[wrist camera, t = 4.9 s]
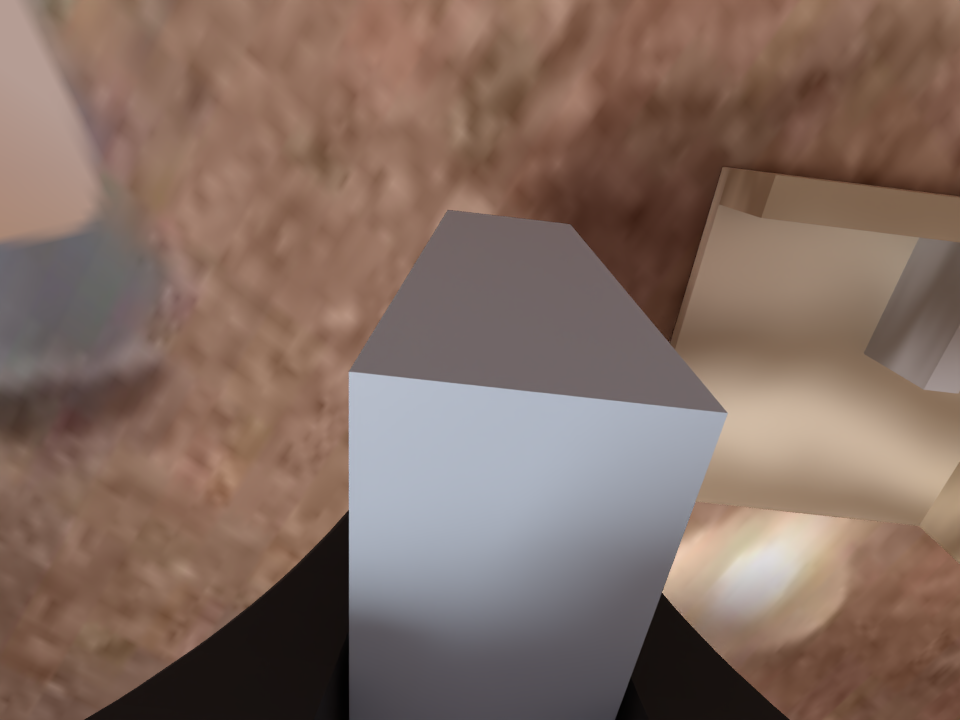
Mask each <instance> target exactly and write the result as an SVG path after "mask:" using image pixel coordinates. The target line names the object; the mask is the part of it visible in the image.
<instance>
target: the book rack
mask: <svg viewBox="0 0 960 720" xmlns="http://www.w3.org/2000/svg"><path fill="white" fill-rule="evenodd" d="M670 344H671V346H672V347H673V348H674V349H675V350H676V352H677V353H678V354H679V355H680V356H681V358H682V359H683V360H684V361H685V362H686V364H687V365H688V366H689V367H690V368H691V370H692V371H693V372H694V373H695V374H696V376H697V377H698V378H699V379H700V380H701V381H702V383H703V384H704V385H705V386H706V387H707V389H708V390H709V391H710V392H711V393H712V395H713V396H714V397H715V398H716V399H717V401H718V402H719V403H720V404H721V405H722V407H723V408H724V409H725V410H726V411H727V413H728V414H727V417H726V420H725V423H724V425H723V428H722V431H721V433H720V436H719V439H718V442H717V444H716V447H715V450H714V452H713V455H712V458H711V461H710V463H709V466H708V469H707V471H706V474H705V477H704V480H703V482H702V485H701V488H700V490H699V493H698V496H697V499H696V501H695V502H704V503H713V504H722V505H731V506H740V507H749V508H759V509H768V510H777V511H786V512H795V513H804V514H813V515H823V516H832V517H841V518H850V519H859V520H868V521H877V522H887V523H896V524H905V525H914V526H919V527H920V528H922V529H923V530H924V531H925V532H926V533H927V534H928V535H929V536H930V537H931V538H932V539H933V540H934V541H936V542H937V543H938V544H939V545H940V546H941V547H942V548H943V549H944V550H945V551H946V552H947V553H949V554H950V555H951V556H952V557H953V558H954V559H955V560H956V561H957V562H958V563H959V564H960V196H952V195H944V194H936V193H928V192H920V191H912V190H904V189H896V188H888V187H880V186H872V185H864V184H856V183H848V182H841V181H833V180H825V179H817V178H809V177H801V176H793V175H785V174H777V173H769V172H761V171H753V170H745V169H737V168H729V167H723V168H722V171H721V174H720V178H719V181H718V184H717V188H716V191H715V195H714V198H713V201H712V205H711V208H710V211H709V215H708V218H707V221H706V225H705V228H704V231H703V235H702V238H701V241H700V245H699V248H698V252H697V255H696V258H695V262H694V265H693V268H692V272H691V275H690V278H689V282H688V285H687V288H686V292H685V295H684V298H683V302H682V305H681V309H680V312H679V315H678V319H677V322H676V325H675V329H674V332H673V335H672V339H671V342H670Z"/></svg>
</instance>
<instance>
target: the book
mask: <svg viewBox="0 0 960 720" xmlns="http://www.w3.org/2000/svg"><path fill="white" fill-rule="evenodd" d="M727 414H728V413H727V411H726V410H725V409H724V408H723V407H722V405H721V404H720V403H719V402H718V401H717V399H716V398H715V397H714V396H713V395H712V393H711V392H710V391H709V390H708V389H707V387H706V386H705V385H704V384H703V383H702V381H701V380H700V379H699V378H698V377H697V376H696V374H695V373H694V372H693V371H692V370H691V368H690V367H689V366H688V365H687V364H686V362H685V361H684V360H683V359H682V358H681V356H680V355H679V354H678V353H677V352H676V350H675V349H674V348H673V347H672V346H671V344H670V343H669V342H668V341H667V340H666V338H665V337H664V336H663V335H662V334H661V332H660V331H659V330H658V329H657V328H656V326H655V325H654V324H653V323H652V322H651V320H650V319H649V318H648V317H647V316H646V314H645V313H644V312H643V311H642V310H641V308H640V307H639V306H638V305H637V304H636V302H635V301H634V300H633V299H632V298H631V296H630V295H629V294H628V293H627V292H626V290H625V289H624V288H623V287H622V286H621V284H620V283H619V282H618V281H617V280H616V278H615V277H614V276H613V275H612V274H611V272H610V271H609V270H608V269H607V268H606V266H605V265H604V264H603V263H602V262H601V260H600V259H599V258H598V257H597V256H596V255H595V253H594V252H593V251H592V250H591V249H590V247H589V246H588V245H587V244H586V243H585V241H584V240H583V239H582V238H581V237H580V235H579V234H578V233H577V232H576V231H575V229H574V228H573V227H572V226H571V225H570V224H564V223H556V222H547V221H539V220H530V219H522V218H513V217H505V216H496V215H488V214H479V213H471V212H462V211H453V210H447V212H446V214H445V215H444V217H443V219H442V220H441V222H440V223H439V225H438V227H437V228H436V230H435V232H434V233H433V235H432V237H431V238H430V240H429V241H428V243H427V245H426V246H425V248H424V250H423V251H422V253H421V255H420V256H419V258H418V259H417V261H416V263H415V264H414V266H413V268H412V269H411V271H410V273H409V274H408V276H407V277H406V279H405V281H404V282H403V284H402V286H401V287H400V289H399V291H398V292H397V294H396V295H395V297H394V299H393V300H392V302H391V304H390V305H389V307H388V308H387V310H386V312H385V313H384V315H383V317H382V318H381V320H380V322H379V323H378V325H377V326H376V328H375V330H374V331H373V333H372V335H371V336H370V338H369V340H368V341H367V343H366V344H365V346H364V348H363V349H362V351H361V353H360V354H359V356H358V358H357V359H356V361H355V362H354V364H353V366H352V367H351V369H350V371H349V720H615V718H616V716H617V713H618V710H619V707H620V705H621V702H622V699H623V697H624V694H625V691H626V688H627V686H628V683H629V680H630V678H631V675H632V672H633V669H634V667H635V664H636V661H637V659H638V656H639V653H640V650H641V648H642V645H643V642H644V640H645V637H646V634H647V631H648V629H649V626H650V623H651V621H652V618H653V615H654V612H655V610H656V607H657V604H658V602H659V599H660V596H661V593H662V591H663V588H664V585H665V583H666V580H667V577H668V574H669V572H670V569H671V566H672V564H673V561H674V558H675V556H676V553H677V550H678V547H679V545H680V542H681V539H682V537H683V534H684V531H685V528H686V526H687V523H688V520H689V518H690V515H691V512H692V509H693V507H694V504H695V501H696V499H697V496H698V493H699V490H700V488H701V485H702V482H703V480H704V477H705V474H706V471H707V469H708V466H709V463H710V461H711V458H712V455H713V452H714V450H715V447H716V444H717V442H718V439H719V436H720V433H721V431H722V428H723V425H724V423H725V420H726V417H727Z"/></svg>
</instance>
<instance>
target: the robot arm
mask: <svg viewBox="0 0 960 720" xmlns="http://www.w3.org/2000/svg"><path fill="white" fill-rule="evenodd" d="M85 720H349V510H348V511H347V512H346V514H345V515H344V516H343V517H342V518H341V519H340V520H339V522H338V523H337V524H336V525H335V526H334V527H333V528H332V529H331V531H330V532H329V533H328V534H327V535H326V536H325V537H324V538H323V539H322V540H321V541H320V542H319V543H318V544H317V545H316V546H315V547H314V548H313V549H312V550H311V551H310V552H309V553H308V554H307V555H306V556H305V557H304V558H303V559H302V560H301V561H300V562H299V563H298V564H297V565H296V566H295V567H294V568H293V569H292V570H291V571H289V572H288V573H287V574H286V575H285V576H284V577H283V578H282V579H281V580H280V581H278V582H277V583H276V584H275V585H274V586H273V587H272V588H271V589H269V590H268V591H267V592H266V593H265V594H264V595H262V596H261V597H260V598H259V599H258V600H256V601H255V602H254V603H253V604H252V605H250V606H249V607H248V608H247V609H245V610H244V611H243V612H242V613H240V614H239V615H238V616H236V617H235V618H234V619H233V620H231V621H230V622H229V623H228V624H226V625H225V626H224V627H223V628H221V629H220V630H219V631H217V632H216V633H215V634H213V635H212V636H211V637H209V638H208V639H207V640H205V641H204V642H203V643H201V644H200V645H198V646H197V647H196V648H194V649H193V650H191V651H190V652H188V653H187V654H185V655H184V656H182V657H181V658H180V659H178V660H177V661H175V662H174V663H172V664H171V665H169V666H168V667H166V668H165V669H163V670H162V671H160V672H159V673H157V674H156V675H155V676H153V677H152V678H150V679H149V680H147V681H146V682H144V683H143V684H141V685H140V686H138V687H137V688H135V689H134V690H132V691H131V692H129V693H127V694H126V695H124V696H123V697H121V698H120V699H118V700H116V701H115V702H113V703H112V704H110V705H108V706H107V707H105V708H103V709H101V710H100V711H98V712H96V713H95V714H93V715H91V716H90V717H88V718H86V719H85ZM615 720H789V719H788V718H787V717H786V716H785V715H784V714H782V713H781V712H780V711H779V710H778V709H777V708H776V707H774V706H773V705H772V704H771V703H770V702H769V701H768V700H767V699H766V698H764V697H763V696H762V695H761V694H760V693H759V692H758V691H757V690H756V689H755V688H754V687H753V686H751V685H750V684H749V683H748V682H747V681H746V680H745V679H744V678H743V677H742V676H741V675H739V674H738V673H737V672H736V671H735V670H734V669H733V668H732V667H731V666H730V665H729V664H728V663H727V662H726V661H725V660H724V659H723V658H722V657H721V656H720V655H719V654H718V653H717V652H716V651H715V650H714V649H713V648H712V647H711V646H710V645H709V644H708V643H707V642H706V641H705V640H704V639H703V638H702V637H701V636H700V635H699V634H698V632H697V631H696V630H695V629H694V628H693V627H692V626H691V625H690V624H689V623H688V622H687V621H686V620H685V619H684V618H683V617H682V615H681V614H680V613H679V612H678V611H677V610H676V609H675V608H674V606H673V605H672V604H671V603H670V602H669V601H668V599H667V598H666V597H665V596H664V595H663V593H661V596H660V599H659V602H658V604H657V607H656V610H655V612H654V615H653V618H652V621H651V623H650V626H649V629H648V631H647V634H646V637H645V640H644V642H643V645H642V648H641V650H640V653H639V656H638V659H637V661H636V664H635V667H634V669H633V672H632V675H631V678H630V680H629V683H628V686H627V688H626V691H625V694H624V697H623V699H622V702H621V705H620V707H619V710H618V713H617V716H616V718H615Z"/></svg>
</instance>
